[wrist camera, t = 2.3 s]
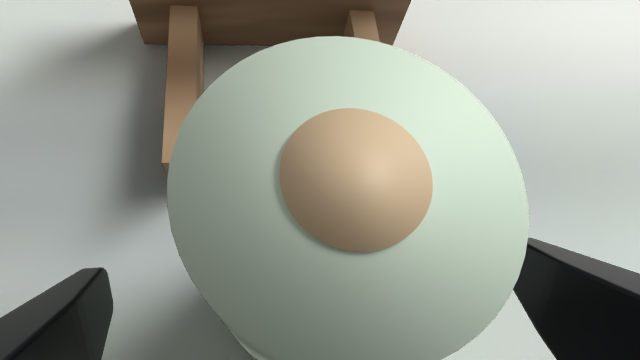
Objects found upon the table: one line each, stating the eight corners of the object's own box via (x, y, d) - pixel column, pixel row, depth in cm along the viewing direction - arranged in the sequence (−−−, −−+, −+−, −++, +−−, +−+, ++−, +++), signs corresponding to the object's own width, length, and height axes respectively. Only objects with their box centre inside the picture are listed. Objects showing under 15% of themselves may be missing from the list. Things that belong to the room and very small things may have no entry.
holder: (420, 178, 20) (496, 89, 14) (132, 190, 18) (62, 92, 11) (387, 24, 24) (433, -101, 17) (146, 19, 22) (99, -125, 15)
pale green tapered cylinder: (287, 402, 15) (358, 491, 4) (200, 294, 16) (84, 149, 6) (382, 304, 17) (597, 195, 6) (298, 213, 18) (357, -14, 7)
